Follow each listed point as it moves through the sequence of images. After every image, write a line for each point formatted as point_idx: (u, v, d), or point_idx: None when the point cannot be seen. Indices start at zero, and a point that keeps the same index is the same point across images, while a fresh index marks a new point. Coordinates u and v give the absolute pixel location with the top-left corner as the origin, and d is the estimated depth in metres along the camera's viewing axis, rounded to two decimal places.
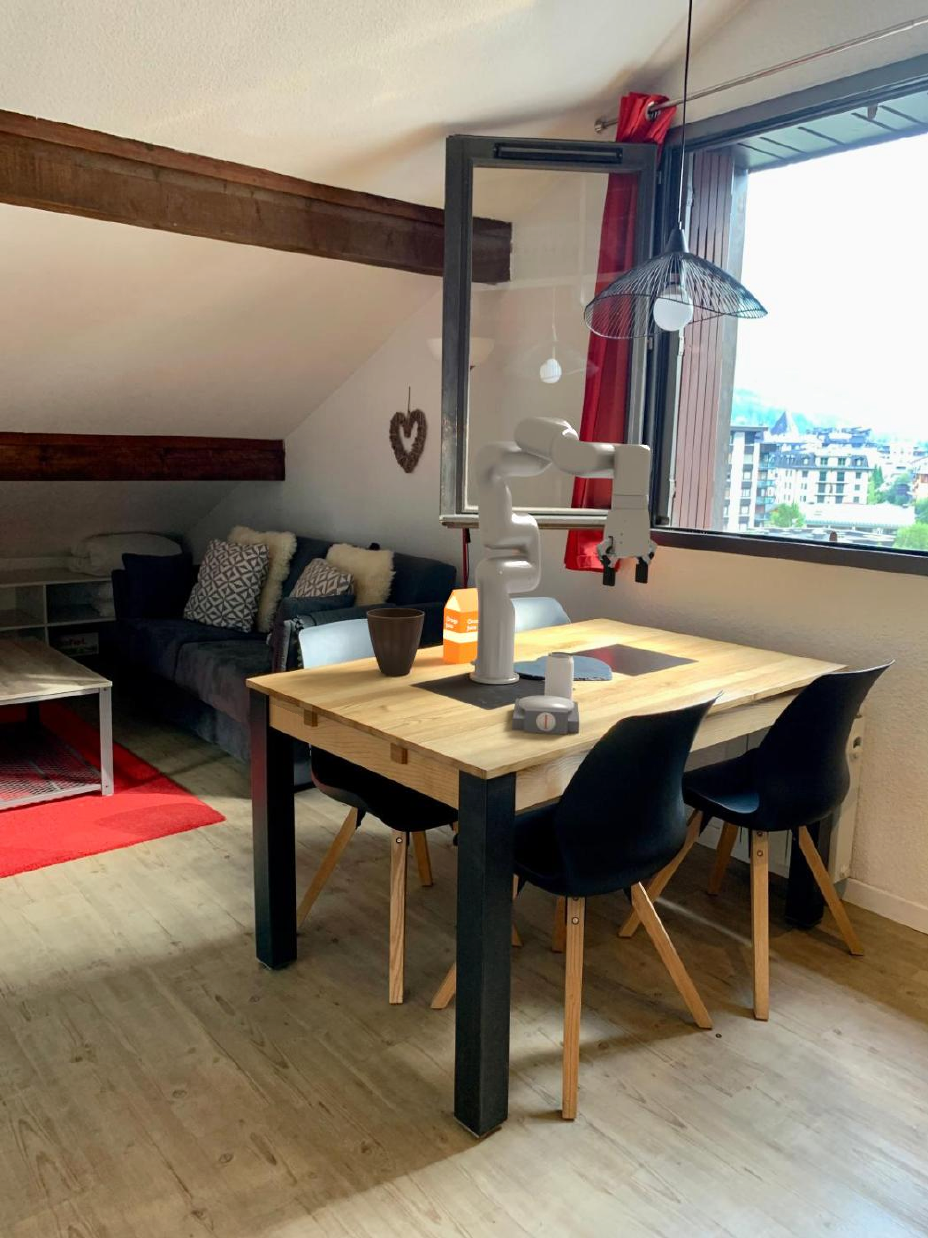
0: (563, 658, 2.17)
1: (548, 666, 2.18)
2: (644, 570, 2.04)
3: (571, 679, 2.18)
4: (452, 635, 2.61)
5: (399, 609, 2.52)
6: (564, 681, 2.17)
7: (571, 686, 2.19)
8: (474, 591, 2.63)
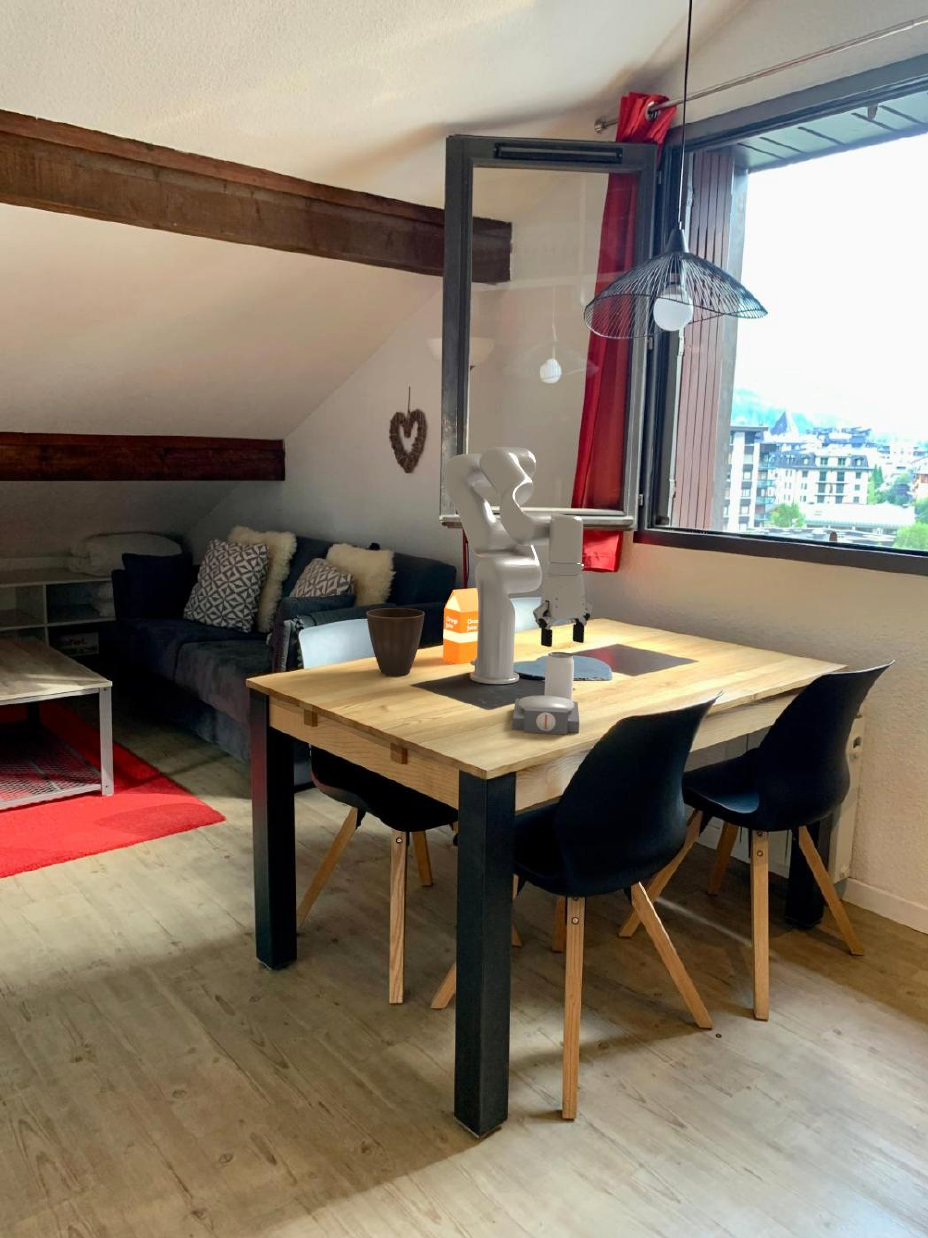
0: (563, 658, 2.16)
1: (548, 666, 2.18)
2: (580, 630, 2.19)
3: (571, 679, 2.18)
4: (452, 635, 2.61)
5: (399, 609, 2.51)
6: (564, 681, 2.17)
7: (571, 686, 2.19)
8: (474, 591, 2.63)
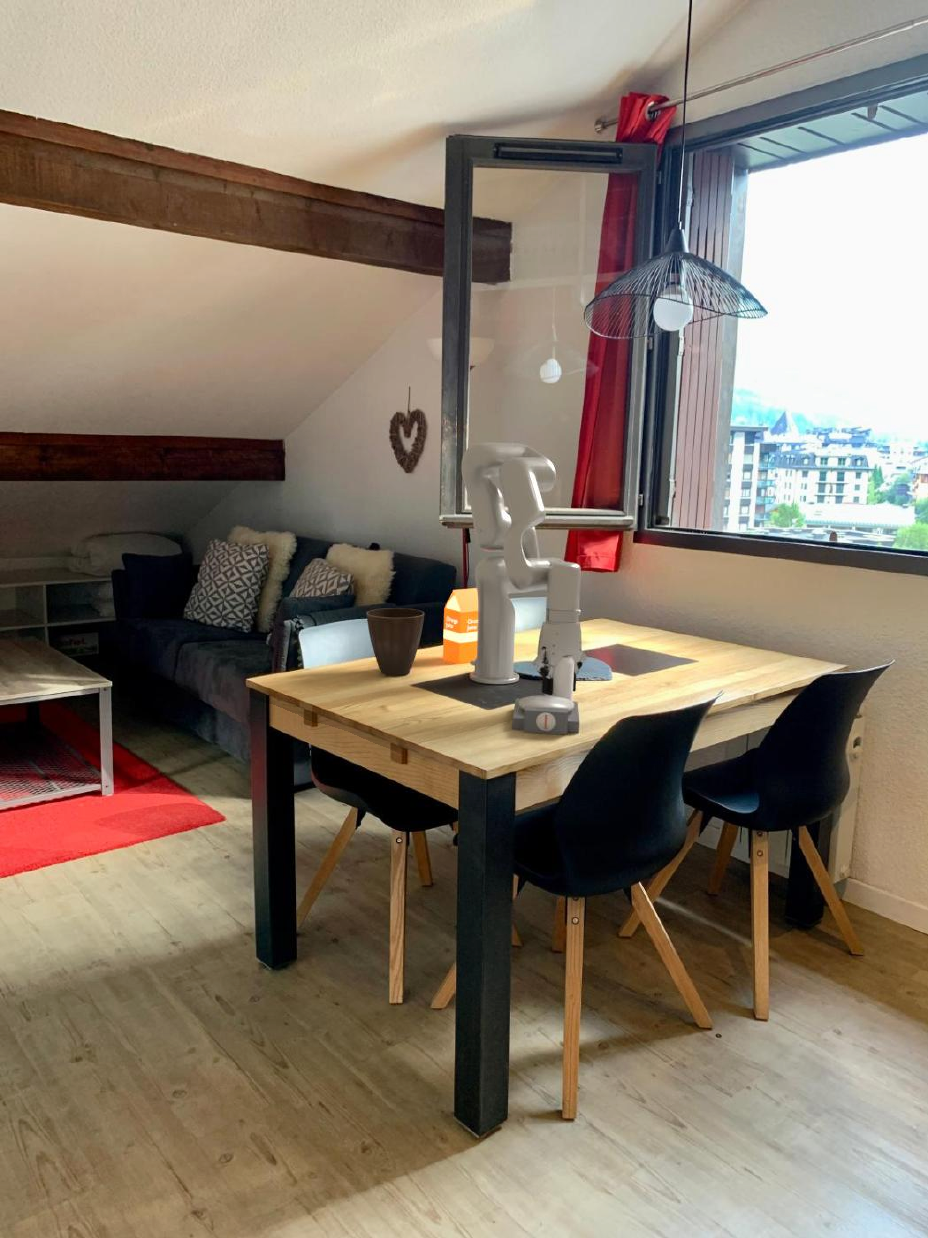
0: (563, 658, 2.16)
1: None
2: None
3: (571, 679, 2.18)
4: (452, 635, 2.61)
5: (399, 609, 2.52)
6: (565, 681, 2.17)
7: (571, 686, 2.19)
8: (474, 591, 2.63)
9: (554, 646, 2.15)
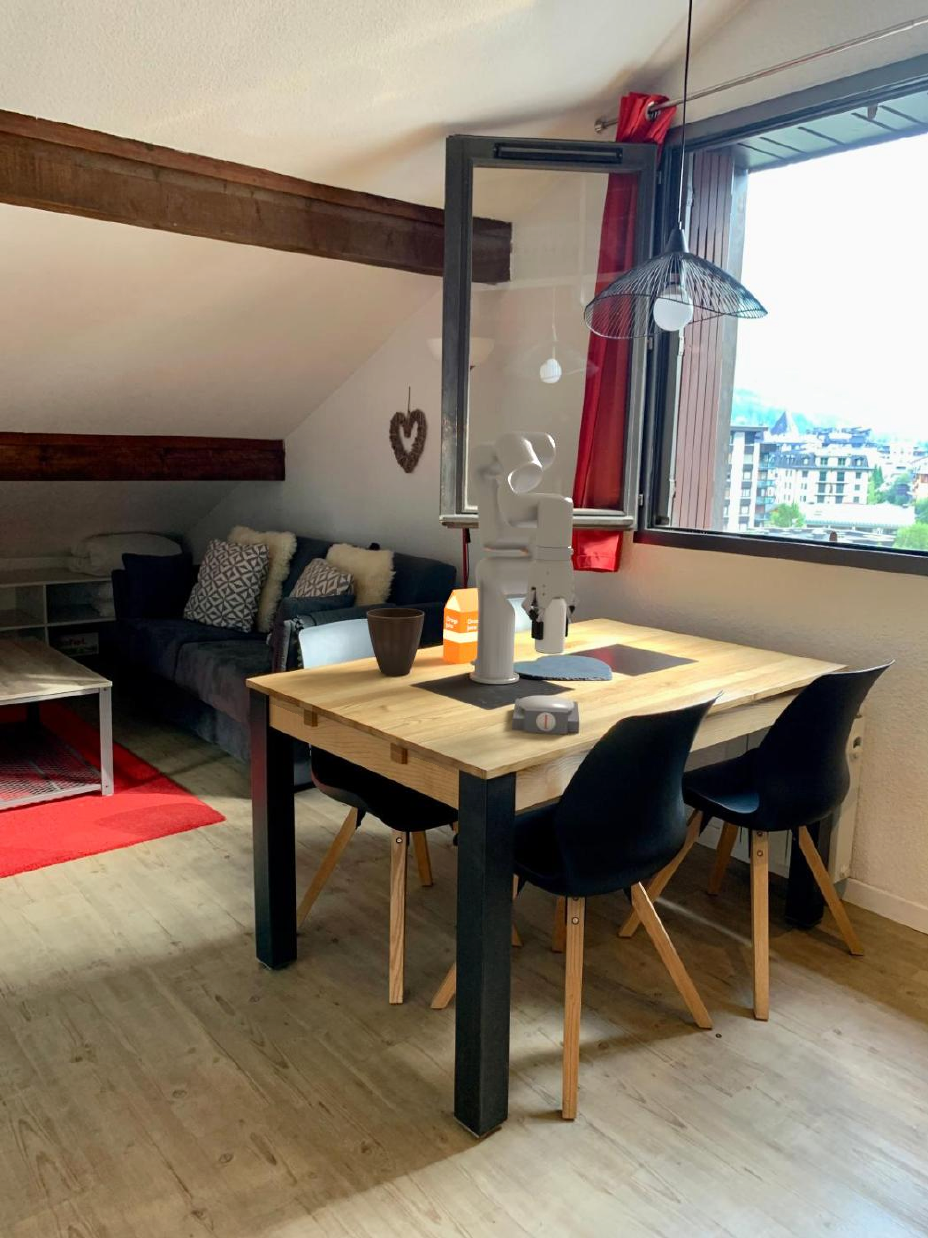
0: (555, 600, 2.01)
1: None
2: None
3: (563, 623, 2.02)
4: (452, 634, 2.61)
5: (399, 609, 2.51)
6: (556, 625, 2.01)
7: (563, 630, 2.03)
8: (474, 591, 2.63)
9: (544, 586, 1.99)
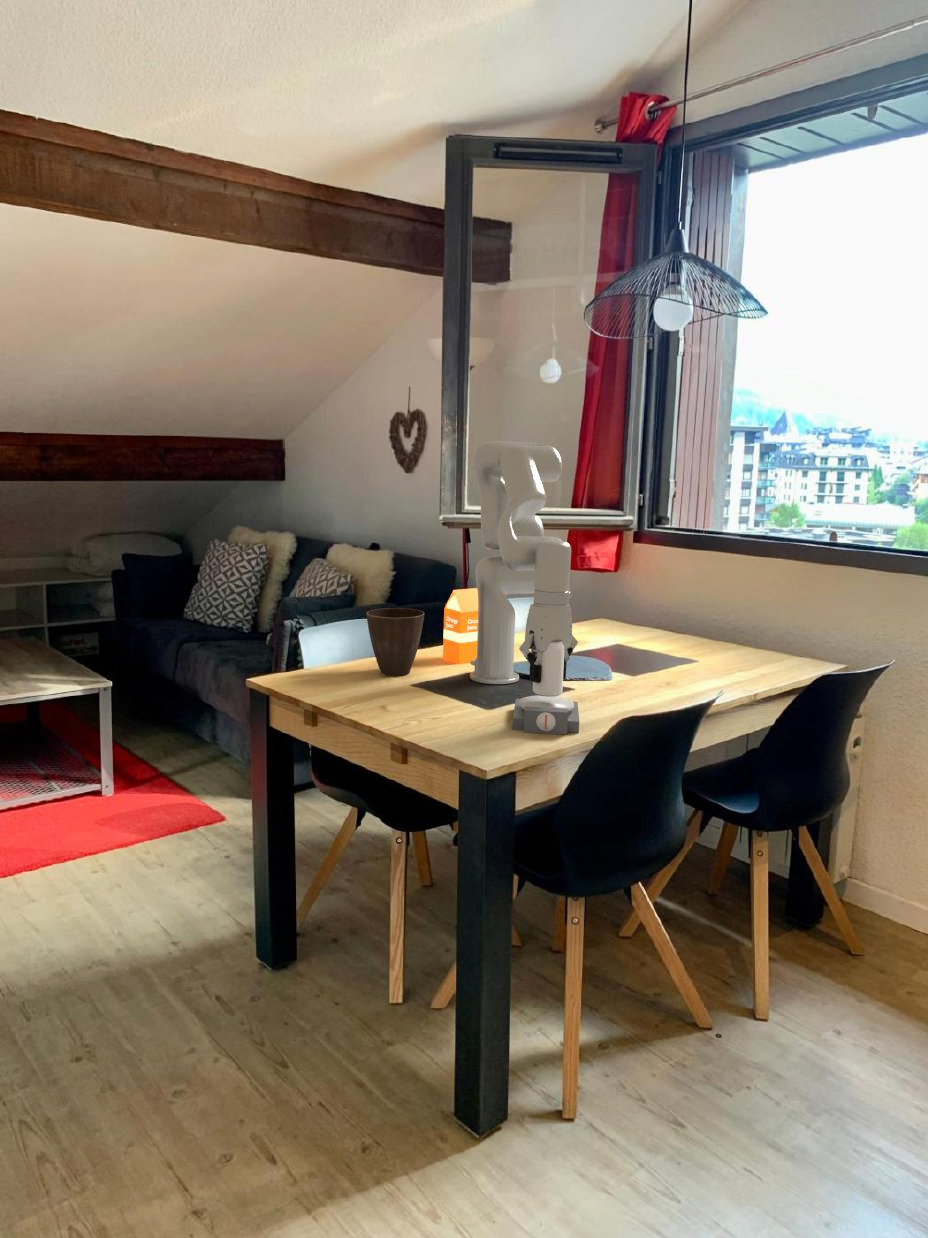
0: (553, 643, 2.02)
1: None
2: None
3: (561, 666, 2.04)
4: (452, 635, 2.61)
5: (399, 609, 2.52)
6: (554, 668, 2.03)
7: (561, 673, 2.04)
8: (474, 591, 2.63)
9: (542, 630, 2.01)
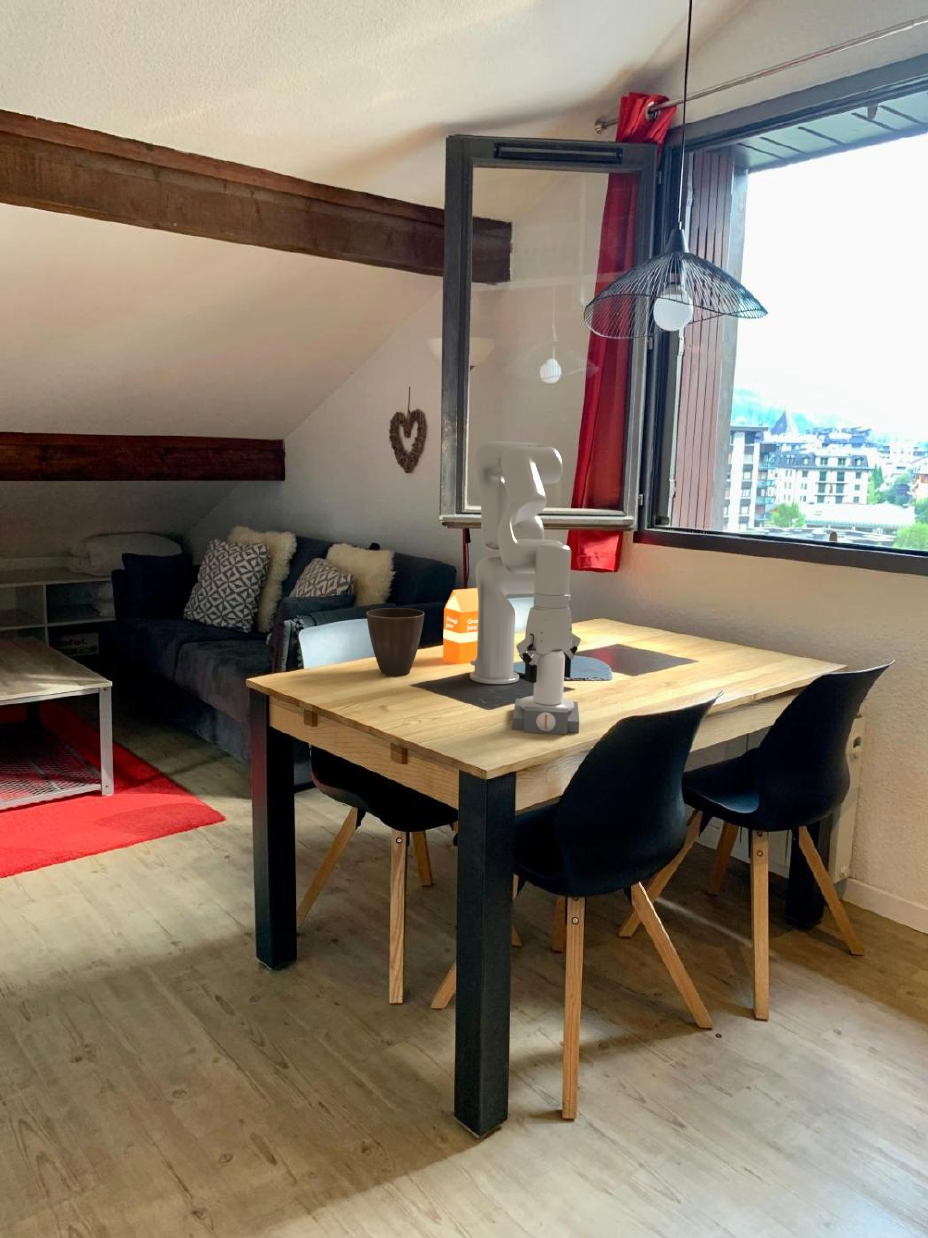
0: (553, 652, 2.03)
1: (537, 661, 2.05)
2: (567, 665, 2.08)
3: (562, 675, 2.05)
4: (452, 635, 2.61)
5: (399, 609, 2.51)
6: (555, 677, 2.04)
7: (562, 682, 2.05)
8: (474, 591, 2.63)
9: (542, 633, 2.01)
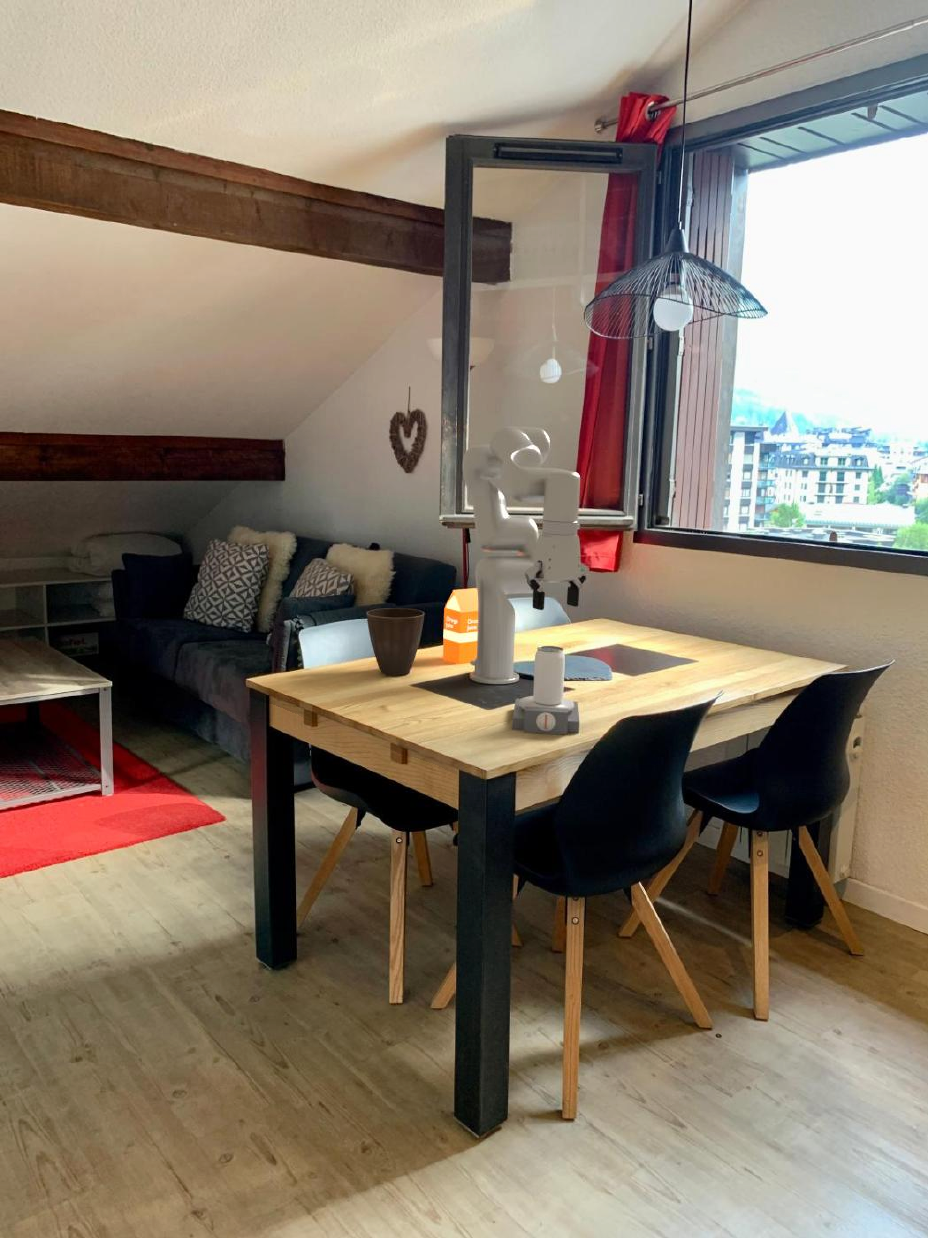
0: (553, 652, 2.03)
1: (537, 661, 2.05)
2: (575, 593, 2.08)
3: (562, 675, 2.05)
4: (452, 635, 2.61)
5: (399, 609, 2.51)
6: (555, 677, 2.04)
7: (562, 682, 2.05)
8: (474, 591, 2.63)
9: (550, 560, 2.01)
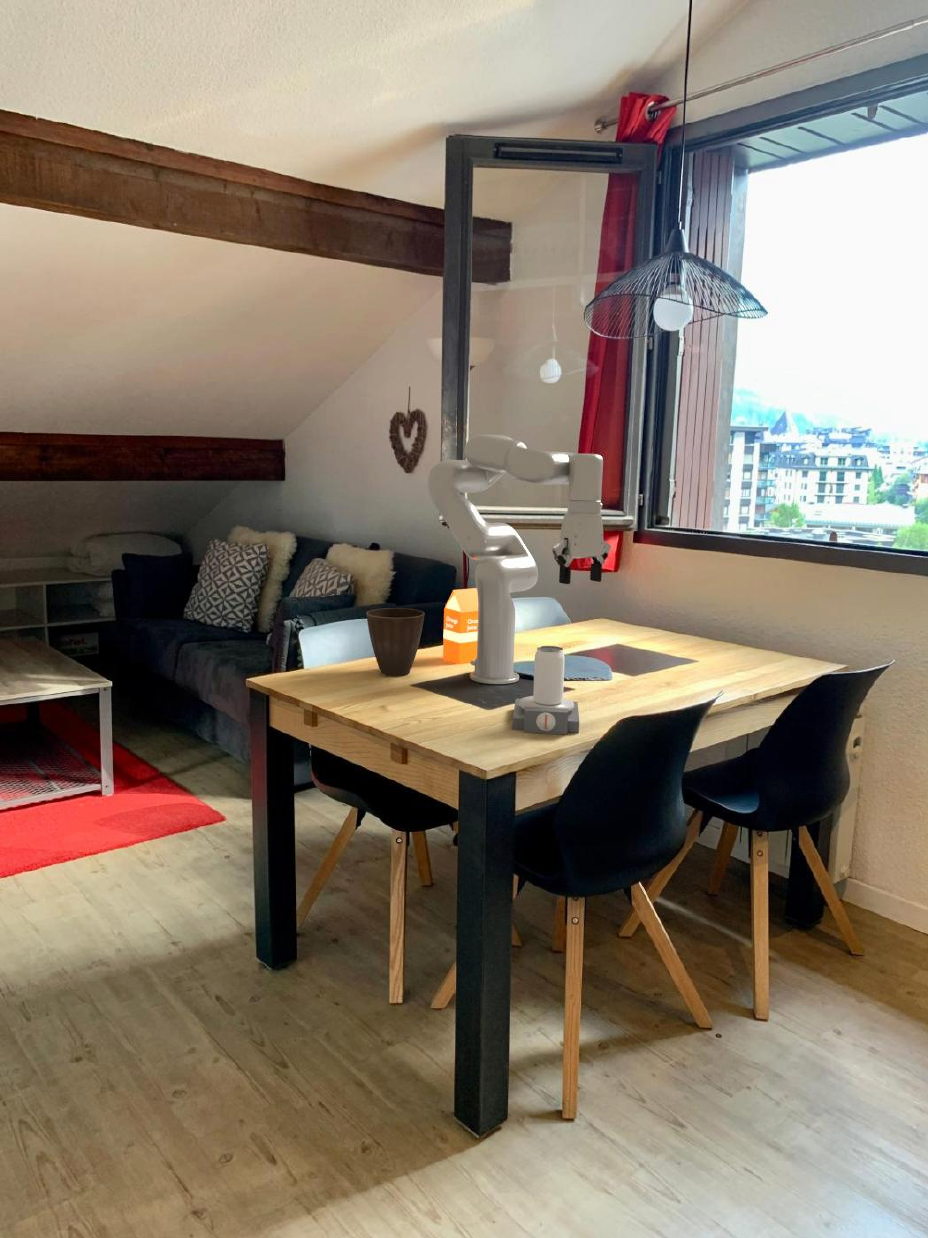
0: (553, 652, 2.03)
1: (537, 661, 2.05)
2: (598, 569, 2.22)
3: (562, 675, 2.05)
4: (452, 635, 2.61)
5: (399, 609, 2.51)
6: (554, 677, 2.04)
7: (562, 682, 2.05)
8: (474, 591, 2.63)
9: (576, 537, 2.15)
